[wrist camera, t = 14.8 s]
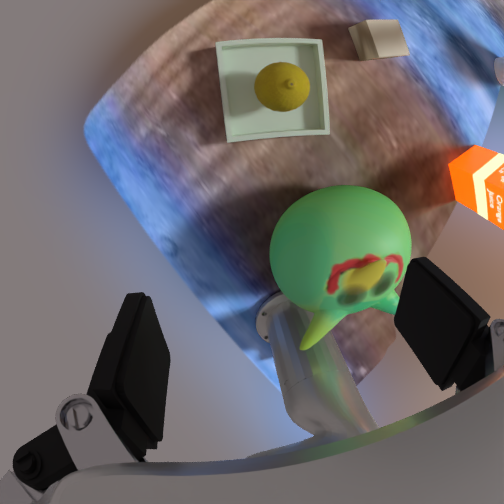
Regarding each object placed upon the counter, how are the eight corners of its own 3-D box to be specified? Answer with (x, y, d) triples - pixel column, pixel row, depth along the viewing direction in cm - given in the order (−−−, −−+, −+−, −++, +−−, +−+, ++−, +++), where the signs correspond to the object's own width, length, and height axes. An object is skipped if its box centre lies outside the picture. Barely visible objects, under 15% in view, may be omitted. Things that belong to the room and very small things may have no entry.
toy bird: (379, 168, 35) (449, 204, 23) (373, 268, 44) (419, 326, 31) (254, 183, 35) (279, 232, 22) (268, 290, 43) (289, 365, 30)
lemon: (240, 95, 28) (248, 90, 21) (266, 59, 26) (282, 45, 20) (280, 120, 30) (299, 124, 23) (305, 84, 28) (331, 79, 21)
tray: (322, 132, 32) (329, 134, 30) (226, 140, 32) (227, 142, 29) (314, 43, 26) (321, 39, 24) (215, 46, 26) (215, 42, 23)
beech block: (388, 58, 28) (410, 55, 23) (359, 61, 28) (379, 57, 24) (377, 26, 25) (397, 19, 21) (347, 28, 25) (365, 20, 21)
